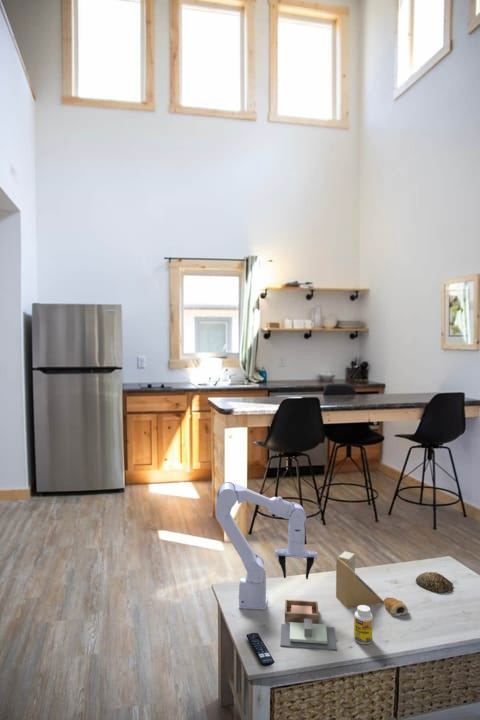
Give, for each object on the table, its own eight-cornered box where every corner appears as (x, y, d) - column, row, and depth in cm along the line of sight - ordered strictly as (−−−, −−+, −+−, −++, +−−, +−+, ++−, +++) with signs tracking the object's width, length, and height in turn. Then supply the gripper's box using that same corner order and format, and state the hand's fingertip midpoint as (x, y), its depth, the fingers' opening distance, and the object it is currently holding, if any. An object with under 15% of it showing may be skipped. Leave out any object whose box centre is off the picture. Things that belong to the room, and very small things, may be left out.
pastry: (378, 603, 188) (379, 593, 188) (395, 601, 190) (396, 591, 190) (392, 617, 179) (392, 606, 179) (410, 615, 181) (410, 604, 181)
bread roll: (411, 582, 205) (411, 569, 205) (435, 576, 211) (435, 563, 210) (436, 596, 194) (436, 583, 194) (460, 590, 199) (461, 577, 199)
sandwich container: (385, 603, 189) (386, 561, 188) (346, 609, 185) (347, 566, 184) (373, 591, 197) (374, 552, 196) (335, 597, 193) (336, 556, 192)
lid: (289, 642, 163) (289, 630, 163) (290, 626, 172) (290, 614, 172) (327, 645, 162) (327, 633, 162) (325, 628, 171) (325, 616, 171)
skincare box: (344, 581, 205) (345, 550, 204) (355, 584, 202) (355, 553, 201) (337, 588, 199) (337, 556, 199) (348, 591, 197) (348, 559, 196)
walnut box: (284, 621, 176) (284, 613, 176) (285, 607, 185) (285, 599, 184) (318, 624, 175) (318, 615, 174) (317, 609, 183) (317, 601, 183)
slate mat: (280, 646, 162) (280, 645, 162) (281, 624, 174) (281, 623, 174) (336, 650, 160) (336, 649, 160) (334, 628, 172) (334, 627, 172)
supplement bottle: (352, 642, 164) (353, 610, 164) (355, 633, 169) (356, 602, 169) (371, 646, 162) (371, 614, 162) (373, 637, 167) (374, 605, 167)
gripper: (275, 542, 183) (274, 581, 184) (317, 545, 182) (317, 583, 183) (275, 535, 190) (275, 572, 191) (316, 537, 189) (316, 574, 190)
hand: (295, 577), depth 187 cm, fingers open, 7 cm apart
